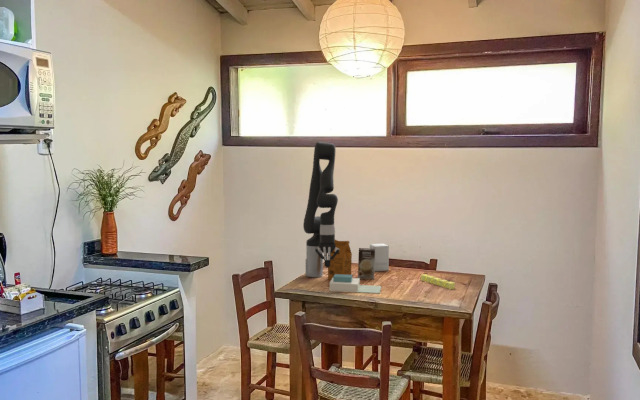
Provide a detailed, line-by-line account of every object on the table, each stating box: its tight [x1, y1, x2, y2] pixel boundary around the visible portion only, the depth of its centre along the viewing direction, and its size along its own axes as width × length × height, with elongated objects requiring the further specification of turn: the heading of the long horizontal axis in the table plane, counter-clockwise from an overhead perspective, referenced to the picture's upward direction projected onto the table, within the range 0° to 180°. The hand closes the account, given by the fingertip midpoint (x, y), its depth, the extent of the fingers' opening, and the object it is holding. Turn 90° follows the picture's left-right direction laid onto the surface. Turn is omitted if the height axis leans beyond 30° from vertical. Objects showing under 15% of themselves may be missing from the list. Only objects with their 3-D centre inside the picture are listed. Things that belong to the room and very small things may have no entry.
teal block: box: [333, 274, 353, 282], centre depth 265 cm, size 9×6×2 cm, turn 81°
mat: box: [357, 284, 382, 295], centre depth 263 cm, size 11×14×1 cm
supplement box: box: [369, 243, 390, 272], centre depth 310 cm, size 9×9×15 cm
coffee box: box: [357, 247, 375, 280], centre depth 288 cm, size 9×6×16 cm
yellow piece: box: [420, 273, 456, 290], centre depth 277 cm, size 32×32×3 cm
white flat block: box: [328, 277, 361, 293], centre depth 265 cm, size 14×13×4 cm
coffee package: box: [327, 239, 353, 281], centre depth 282 cm, size 10×12×22 cm
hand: (327, 267), depth 265 cm, fingers closed
